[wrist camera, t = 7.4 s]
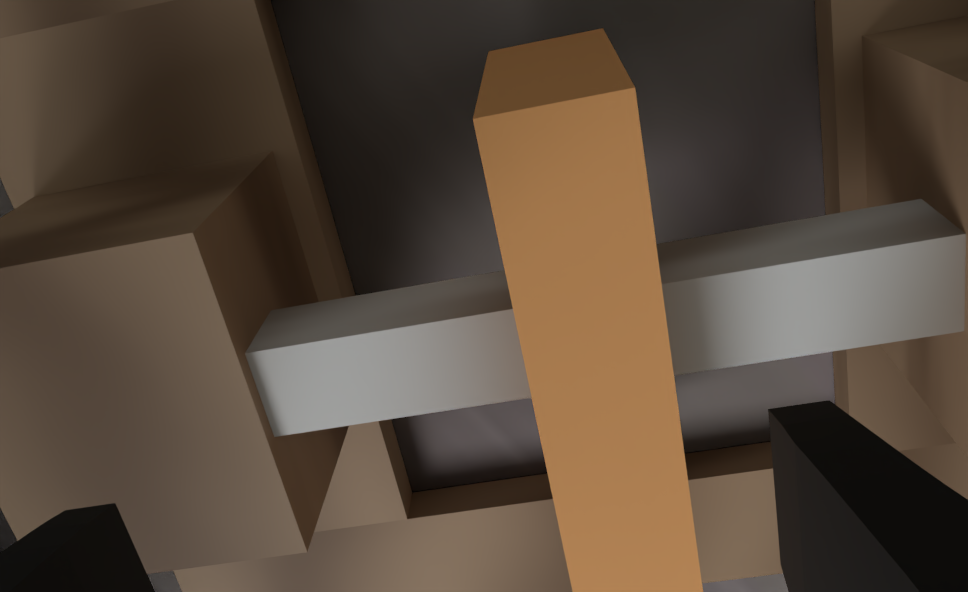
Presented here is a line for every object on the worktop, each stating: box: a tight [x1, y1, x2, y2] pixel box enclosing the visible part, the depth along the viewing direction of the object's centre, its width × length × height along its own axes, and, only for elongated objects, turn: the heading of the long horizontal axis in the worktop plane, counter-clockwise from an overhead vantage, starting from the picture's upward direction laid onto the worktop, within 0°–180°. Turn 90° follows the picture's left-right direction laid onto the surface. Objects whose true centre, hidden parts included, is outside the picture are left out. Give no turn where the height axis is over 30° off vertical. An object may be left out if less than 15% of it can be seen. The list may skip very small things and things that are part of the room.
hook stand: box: [0, 0, 968, 592], centre depth 16 cm, size 22×18×6 cm
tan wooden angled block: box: [473, 28, 703, 592], centre depth 15 cm, size 9×2×5 cm, turn 12°
